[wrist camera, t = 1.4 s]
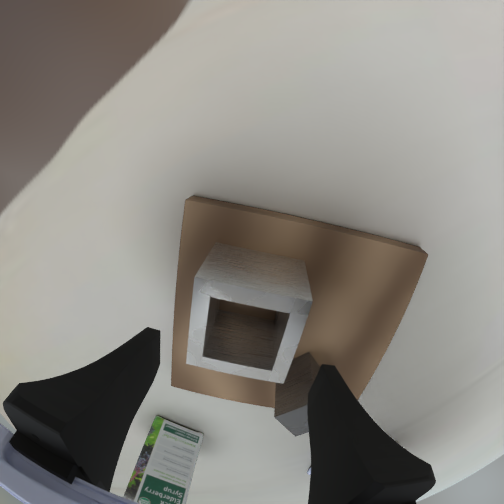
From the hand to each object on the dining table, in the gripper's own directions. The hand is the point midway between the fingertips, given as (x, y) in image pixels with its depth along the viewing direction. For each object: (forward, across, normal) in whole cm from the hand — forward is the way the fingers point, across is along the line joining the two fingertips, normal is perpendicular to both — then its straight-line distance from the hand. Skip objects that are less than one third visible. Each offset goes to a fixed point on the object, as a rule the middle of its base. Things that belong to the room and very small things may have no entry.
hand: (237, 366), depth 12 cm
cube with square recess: (+7, 0, 0) cm, 7 cm away
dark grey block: (+7, -5, +6) cm, 11 cm away
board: (+9, -3, +3) cm, 10 cm away
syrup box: (+9, +5, +22) cm, 24 cm away
